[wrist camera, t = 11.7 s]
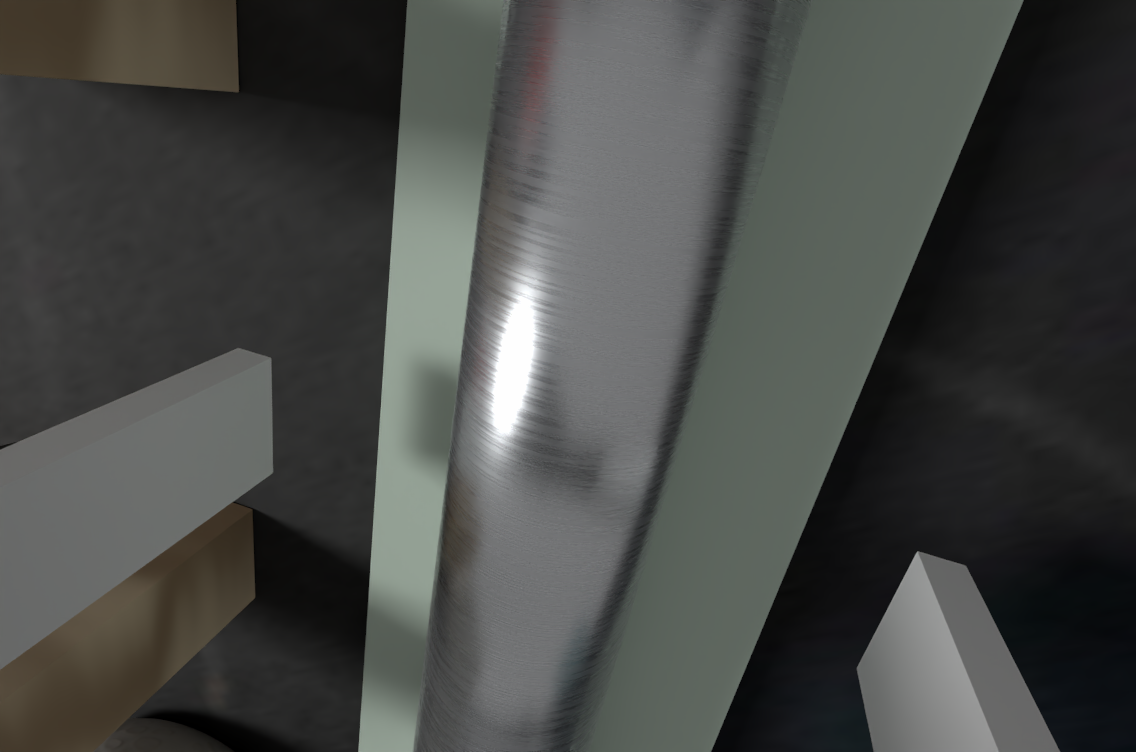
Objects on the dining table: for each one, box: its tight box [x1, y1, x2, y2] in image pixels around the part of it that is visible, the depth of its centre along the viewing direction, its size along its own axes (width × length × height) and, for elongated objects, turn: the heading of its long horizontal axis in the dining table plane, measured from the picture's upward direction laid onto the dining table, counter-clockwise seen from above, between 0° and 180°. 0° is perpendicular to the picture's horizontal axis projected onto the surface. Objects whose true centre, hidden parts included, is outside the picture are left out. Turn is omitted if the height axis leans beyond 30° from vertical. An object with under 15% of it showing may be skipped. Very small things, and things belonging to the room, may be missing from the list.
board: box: [358, 0, 1024, 752], centre depth 14 cm, size 28×10×1 cm, turn 169°
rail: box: [413, 0, 813, 752], centre depth 12 cm, size 24×5×5 cm, turn 169°
